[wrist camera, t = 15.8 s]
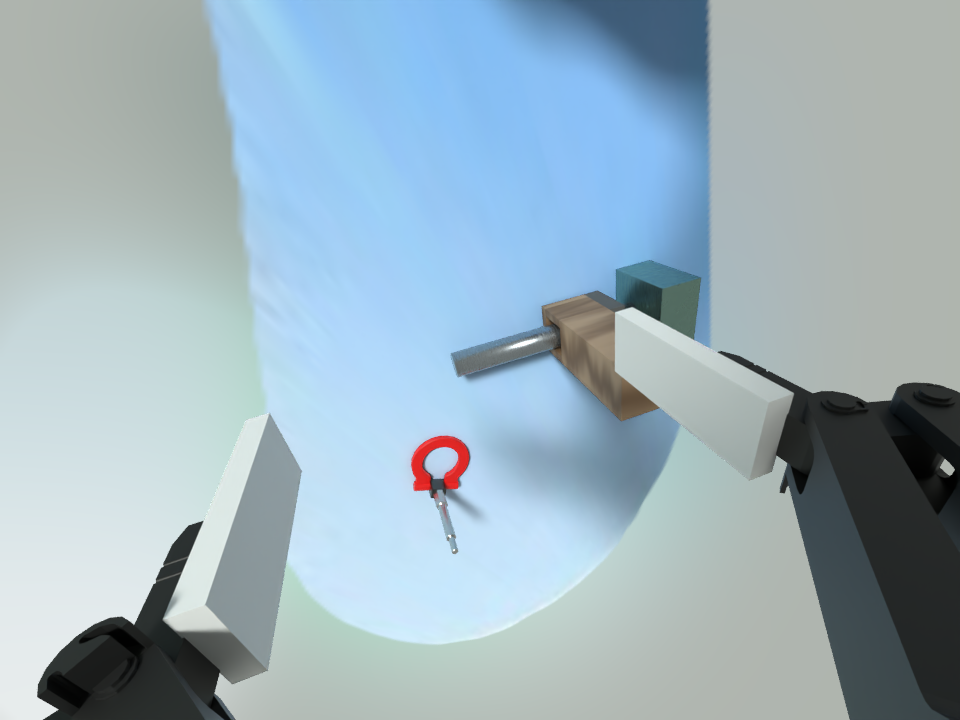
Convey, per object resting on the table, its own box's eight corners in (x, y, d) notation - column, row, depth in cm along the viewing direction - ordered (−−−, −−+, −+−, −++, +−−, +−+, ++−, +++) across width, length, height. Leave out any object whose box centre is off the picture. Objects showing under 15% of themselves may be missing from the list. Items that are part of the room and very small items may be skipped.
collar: (584, 294, 51) (609, 309, 46) (597, 290, 51) (624, 305, 46) (585, 335, 54) (609, 353, 49) (598, 331, 54) (624, 349, 49)
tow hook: (415, 433, 54) (406, 486, 58) (432, 499, 43) (420, 560, 46) (471, 433, 57) (460, 484, 60) (501, 495, 46) (485, 553, 49)
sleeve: (541, 306, 50) (621, 369, 35) (584, 294, 51) (679, 350, 36) (545, 347, 53) (621, 421, 38) (585, 335, 54) (674, 402, 39)
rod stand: (439, 317, 47) (456, 348, 39) (649, 260, 52) (701, 277, 44) (456, 385, 52) (473, 424, 44) (646, 327, 57) (692, 353, 49)
